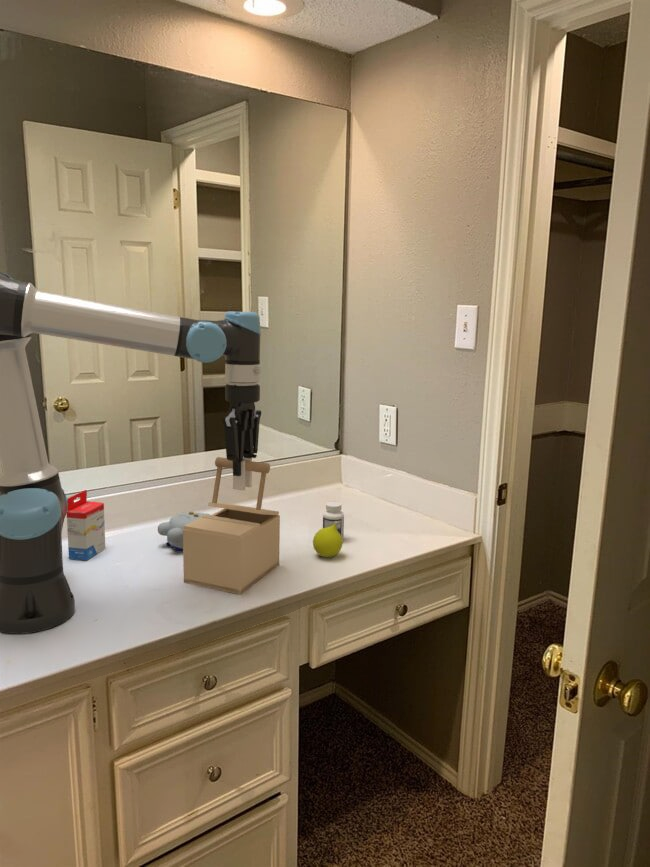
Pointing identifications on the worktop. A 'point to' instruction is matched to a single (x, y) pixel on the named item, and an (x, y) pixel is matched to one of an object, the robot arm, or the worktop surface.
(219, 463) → the tan handled panel part
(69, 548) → the ink box
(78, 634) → the worktop surface
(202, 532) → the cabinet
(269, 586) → the worktop surface
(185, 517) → the figurine
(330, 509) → the pill bottle
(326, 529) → the ornament
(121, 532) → the worktop surface
